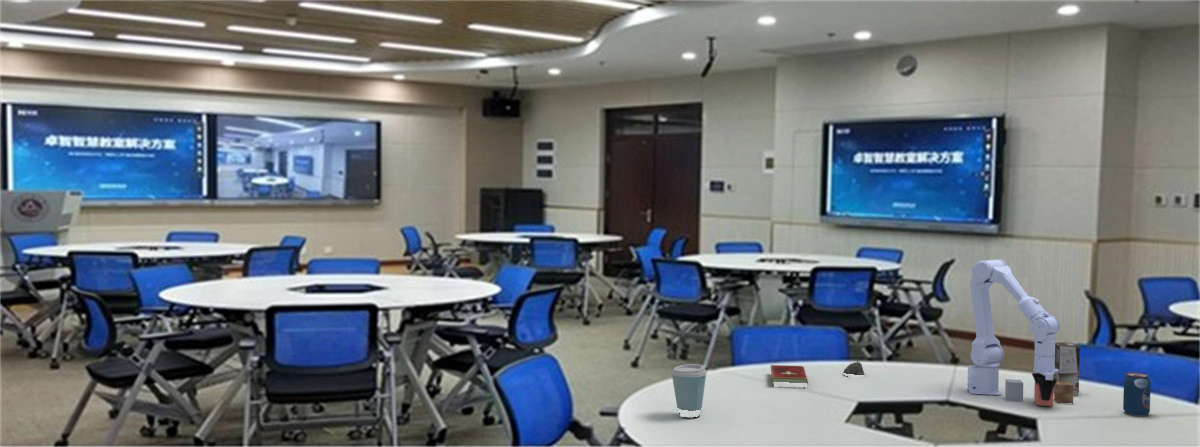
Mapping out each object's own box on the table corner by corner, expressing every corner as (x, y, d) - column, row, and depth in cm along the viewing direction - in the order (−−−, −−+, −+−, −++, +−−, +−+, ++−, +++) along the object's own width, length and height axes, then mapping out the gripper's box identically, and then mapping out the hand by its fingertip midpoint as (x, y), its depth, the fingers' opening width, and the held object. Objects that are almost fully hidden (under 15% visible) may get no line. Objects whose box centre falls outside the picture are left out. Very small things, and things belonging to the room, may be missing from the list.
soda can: (1149, 418, 269) (1150, 377, 268) (1122, 414, 272) (1123, 375, 272) (1149, 412, 275) (1151, 373, 274) (1123, 409, 278) (1124, 371, 278)
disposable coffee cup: (683, 422, 266) (683, 371, 265) (664, 414, 275) (664, 364, 274) (713, 417, 271) (713, 367, 270) (693, 409, 280) (693, 361, 279)
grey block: (1007, 400, 290) (1008, 382, 290) (1005, 397, 295) (1005, 379, 295) (1023, 401, 289) (1023, 382, 289) (1020, 398, 294) (1020, 379, 293)
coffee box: (1079, 396, 296) (1080, 346, 295) (1058, 395, 297) (1059, 346, 297) (1071, 389, 305) (1072, 342, 304) (1050, 389, 306) (1051, 341, 306)
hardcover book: (804, 376, 329) (804, 365, 329) (807, 389, 308) (808, 377, 308) (770, 375, 331) (770, 364, 331) (771, 388, 310) (771, 376, 310)
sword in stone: (838, 373, 333) (839, 340, 333) (859, 373, 334) (860, 341, 333) (848, 379, 323) (849, 345, 323) (869, 379, 324) (871, 346, 323)
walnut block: (1057, 403, 287) (1057, 384, 287) (1054, 400, 291) (1054, 381, 291) (1073, 404, 286) (1073, 385, 285) (1069, 400, 290) (1069, 382, 290)
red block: (1037, 405, 283) (1037, 386, 283) (1034, 401, 287) (1034, 382, 287) (1053, 406, 282) (1053, 386, 281) (1049, 402, 286) (1050, 383, 286)
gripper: (1064, 360, 276) (1063, 404, 276) (1053, 351, 290) (1052, 393, 290) (1039, 359, 277) (1038, 403, 278) (1029, 350, 291) (1028, 392, 292)
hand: (1043, 398), depth 284 cm, fingers closed on red block, 4 cm apart
